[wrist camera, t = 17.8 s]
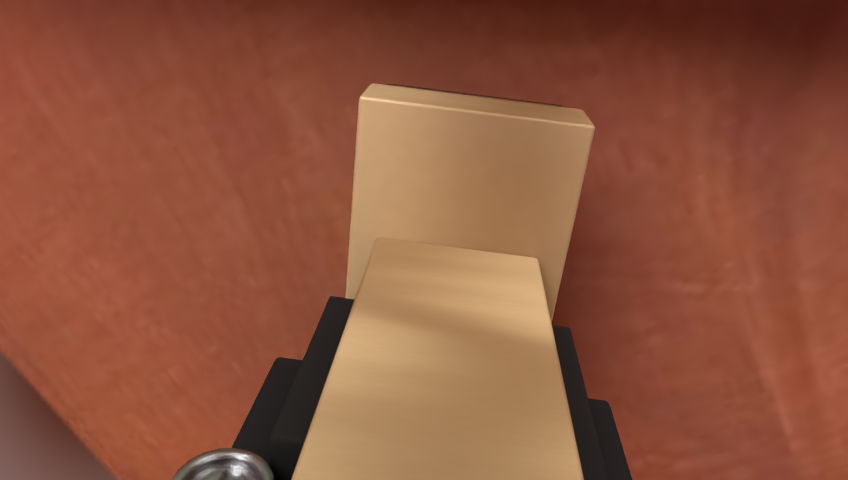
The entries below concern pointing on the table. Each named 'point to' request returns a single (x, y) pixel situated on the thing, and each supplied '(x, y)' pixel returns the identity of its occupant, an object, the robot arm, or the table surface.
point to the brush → (453, 293)
